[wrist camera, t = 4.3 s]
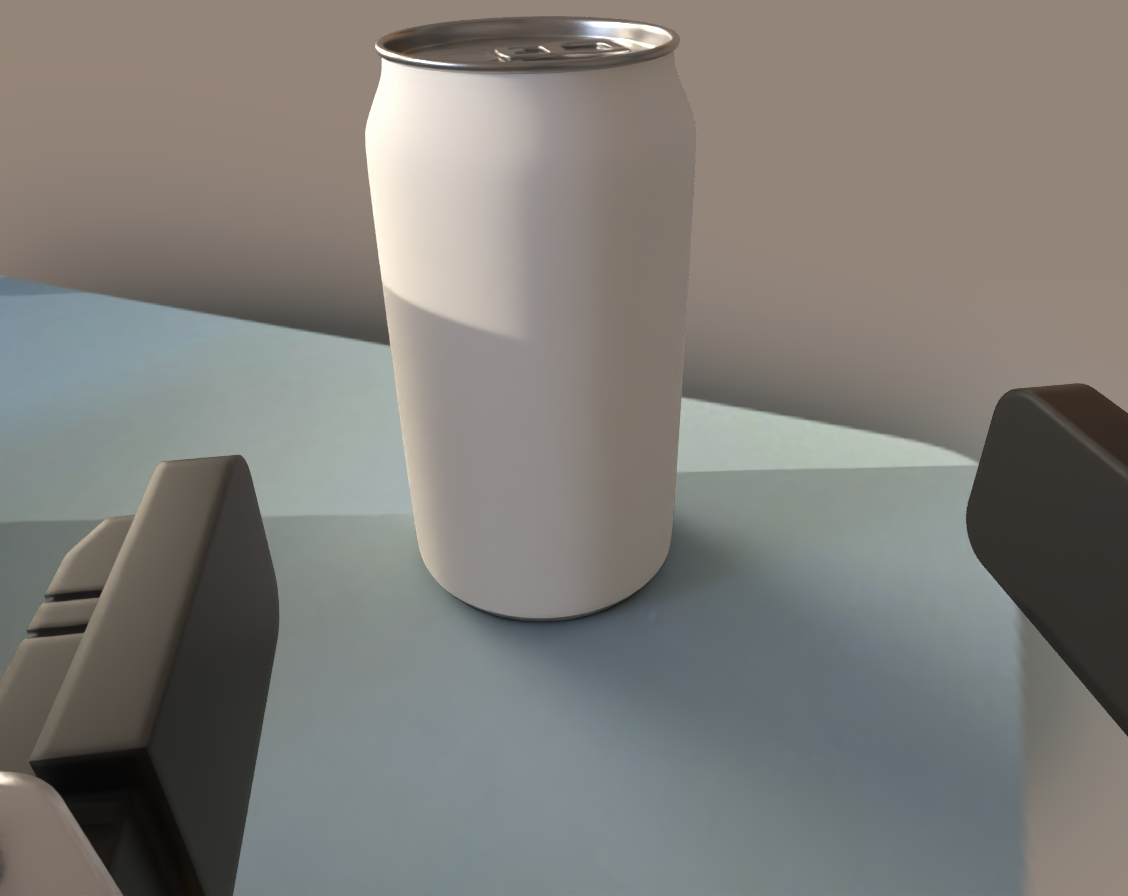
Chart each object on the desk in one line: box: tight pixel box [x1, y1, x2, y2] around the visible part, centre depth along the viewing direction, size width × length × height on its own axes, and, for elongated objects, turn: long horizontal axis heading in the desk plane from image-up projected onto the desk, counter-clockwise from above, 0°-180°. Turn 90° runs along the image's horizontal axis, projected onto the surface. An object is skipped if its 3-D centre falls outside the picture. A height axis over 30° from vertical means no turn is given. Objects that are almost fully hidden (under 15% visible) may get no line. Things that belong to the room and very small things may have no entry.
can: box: [365, 16, 696, 622], centre depth 20 cm, size 6×6×12 cm
